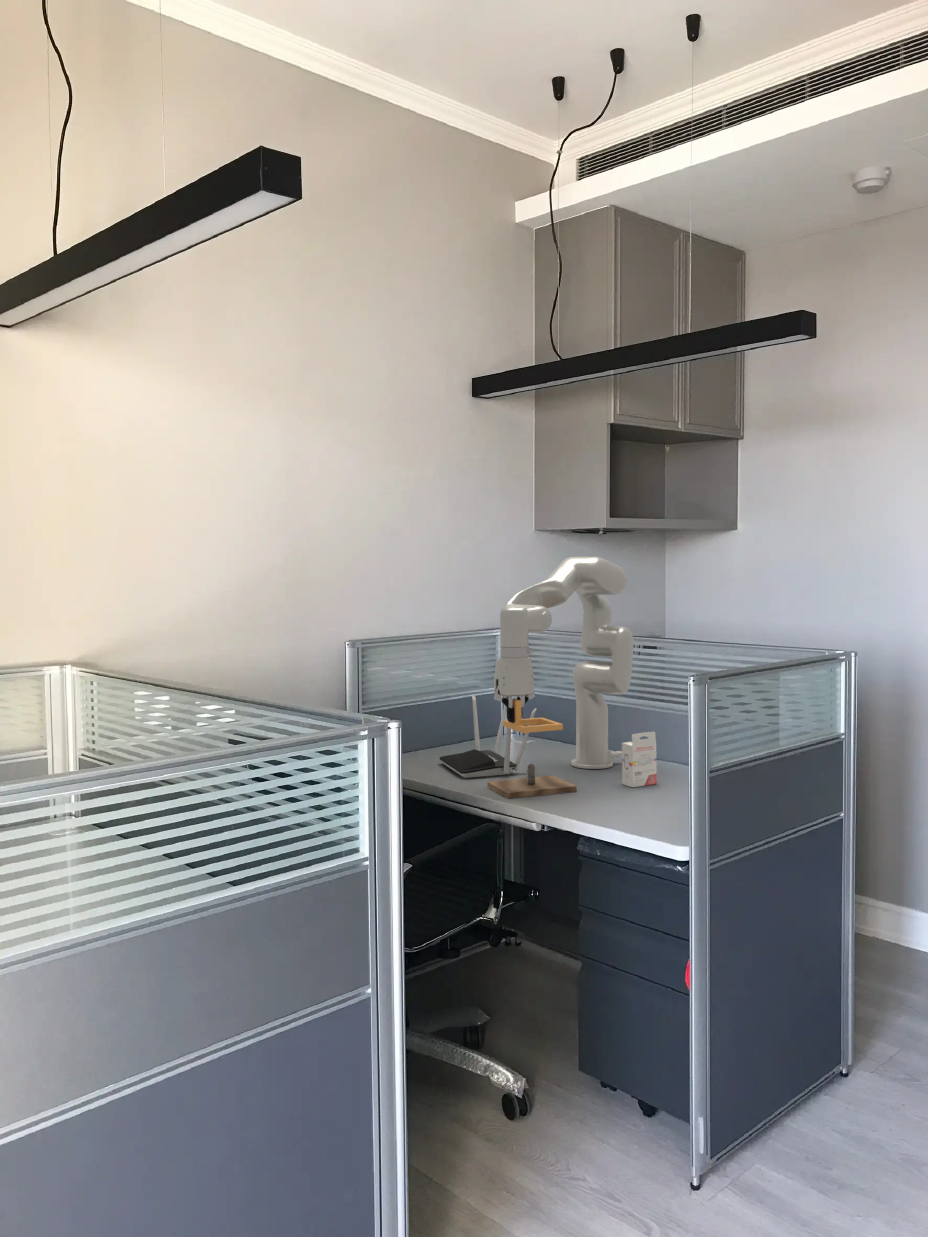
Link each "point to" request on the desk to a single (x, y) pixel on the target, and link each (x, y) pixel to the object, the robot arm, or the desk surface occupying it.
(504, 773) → the wireless router
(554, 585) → the robot arm
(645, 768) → the ink cartridge box
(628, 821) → the desk surface
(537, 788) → the wooden peg board
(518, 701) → the link
